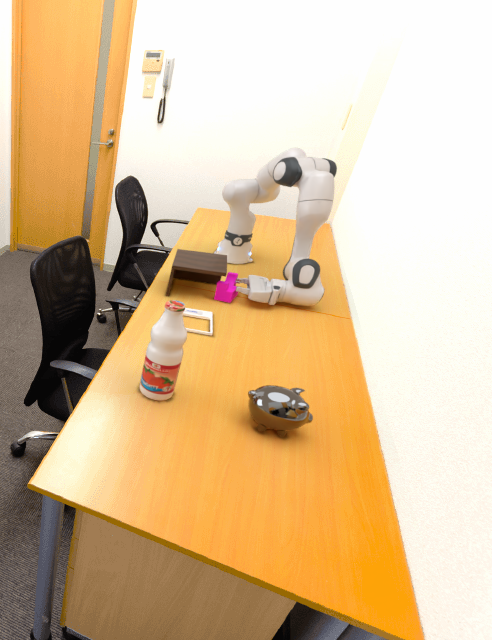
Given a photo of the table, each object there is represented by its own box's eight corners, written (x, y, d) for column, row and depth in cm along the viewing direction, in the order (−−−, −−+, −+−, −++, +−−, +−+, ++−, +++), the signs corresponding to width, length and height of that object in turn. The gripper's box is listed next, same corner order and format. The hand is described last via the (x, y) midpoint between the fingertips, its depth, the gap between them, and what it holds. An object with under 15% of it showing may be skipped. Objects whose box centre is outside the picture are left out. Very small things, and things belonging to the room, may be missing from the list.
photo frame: (212, 311, 164) (212, 332, 149) (211, 314, 164) (211, 335, 150) (172, 305, 169) (168, 325, 154) (171, 307, 169) (168, 327, 155)
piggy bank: (308, 449, 103) (326, 412, 97) (239, 432, 108) (252, 396, 102) (300, 420, 112) (317, 385, 106) (237, 406, 117) (249, 371, 111)
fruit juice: (178, 391, 123) (202, 304, 109) (162, 406, 117) (184, 315, 103) (149, 377, 129) (167, 293, 114) (132, 390, 123) (149, 303, 109)
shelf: (171, 277, 197) (177, 248, 190) (219, 284, 190) (227, 255, 183) (165, 295, 179) (172, 265, 173) (218, 304, 172) (226, 273, 165)
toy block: (230, 302, 172) (234, 285, 169) (213, 299, 176) (217, 282, 173) (241, 291, 182) (244, 274, 178) (225, 288, 186) (228, 271, 182)
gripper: (273, 273, 177) (237, 268, 182) (279, 292, 161) (238, 286, 166) (269, 287, 181) (233, 282, 185) (273, 307, 164) (234, 300, 169)
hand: (235, 284), depth 176 cm, fingers open, 8 cm apart
